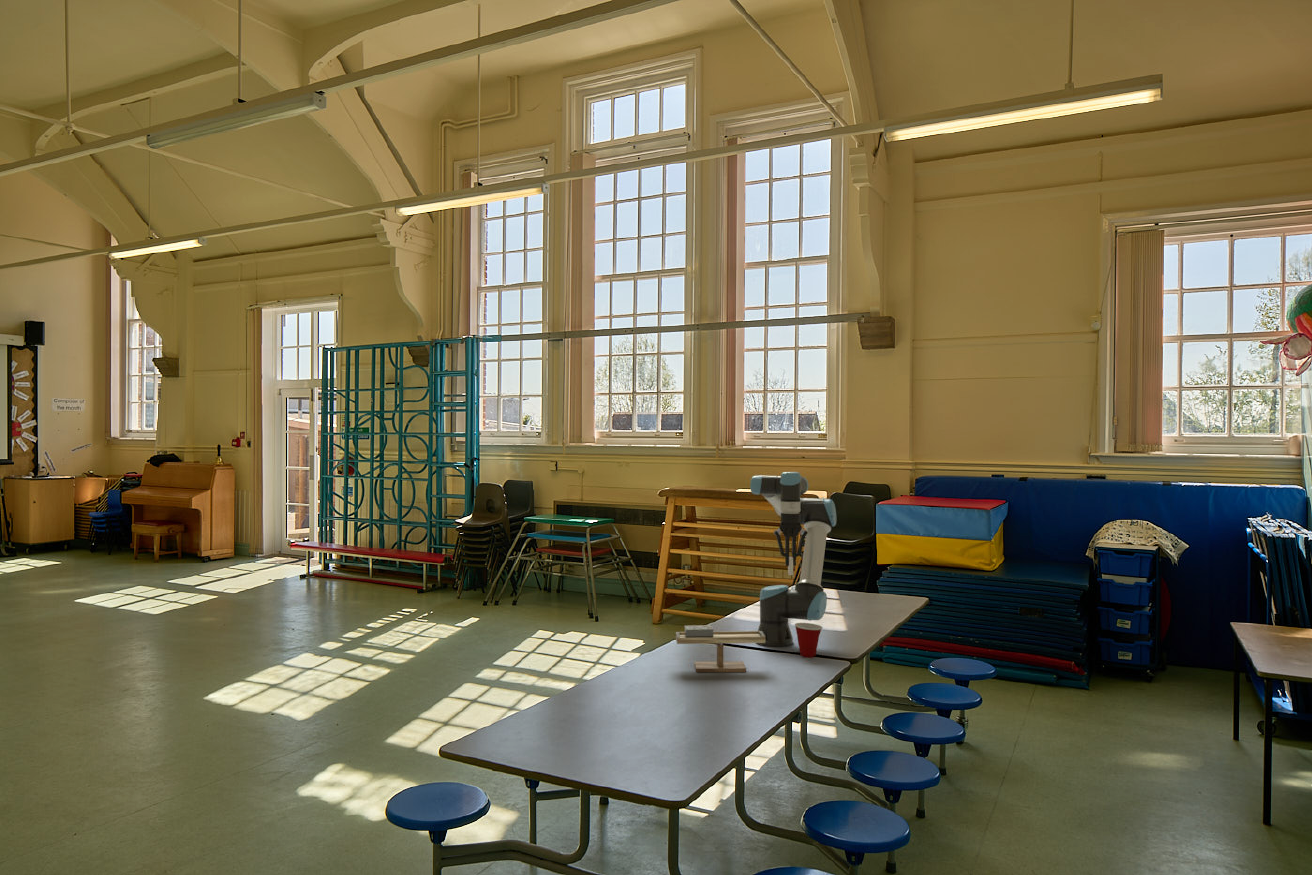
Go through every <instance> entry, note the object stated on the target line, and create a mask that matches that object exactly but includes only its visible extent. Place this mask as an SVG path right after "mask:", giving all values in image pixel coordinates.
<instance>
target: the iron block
mask: <svg viewBox="0 0 1312 875" xmlns="http://www.w3.org/2000/svg"><path fill="white" fill-rule="evenodd" d="M684 632H685V637H713V632H714V628H713V626H712V624H711V625H710V624H708V625H707V624H706V625H701V624H700V625H699V624H698V625H695V624H692V625H684Z"/></svg>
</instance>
